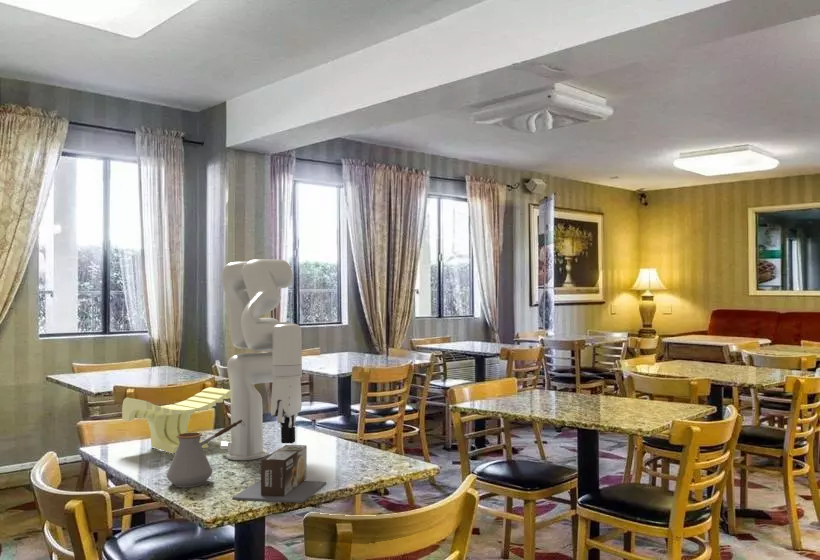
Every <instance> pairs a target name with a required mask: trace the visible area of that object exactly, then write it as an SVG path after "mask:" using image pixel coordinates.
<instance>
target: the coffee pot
mask: <svg viewBox="0 0 820 560" xmlns="http://www.w3.org/2000/svg"><path fill="white" fill-rule="evenodd" d="M241 422H243V421H242V420H239V421H237V422H236V423H235V422H234V423H233V424H232V425H231V424H230V425H227V426H225V427H223V428H222V429H221V430H219V431H218V432H216V433H214V434H213V435H211V436H210V437H208V438H206V439H204V440H201V437H202V435H203V433H201V432H188V433H183V434H179V435H177V438H178V440H179V446H178V448H177V450H176V453H175V454H173V458H172V460H171V463H170V465H169V468H168V470H167V473H166V478H167V479H168V481H169V482H170V483H171V484H173V486H174V487H177V488H192V487H193V488H194V487H198V486H202V485H204V484H205V483H206V481H208V480H209V479H210V477H211V476H212V474H213V468H212V466H211V465H210V462H209V460H208V457H207V455H206V454H205V451H204V448H202V445H204V444H206V443H210V442H211V441H212V440H213V439H215V438H217V437H219V436H222V435H223V434H225V433H227V432H230V431H231V429H232V428H233V427H236V426H237V424H240V423H241ZM243 423H244V422H243ZM241 425H242V423H241ZM242 426H243V425H242ZM244 426H245V423H244ZM200 440H201V441H202V442H199V441H200Z"/></svg>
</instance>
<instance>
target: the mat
mask: <svg viewBox="0 0 820 560" xmlns="http://www.w3.org/2000/svg"><path fill="white" fill-rule="evenodd" d="M325 485H327V481H321V480H320V481H318V480H313V481H312V480H304V481H303V482H302V483H300V484H299V485H298V486H297V487H295V488H294V489H293V490H291V491H290V492H289V493H288V494H286V495H285V496H262V495H261V479H260V480H258V481H257V482H255V483H253V484H251V485H250V486H247V488H245V489H244V490H242V491H240V492H238V493H237V494H235V495H234V496H232V498H231V499H232V500H237V501H238V500H239V501H260V502H279V503H281V502H282V503H298V504H299V503H301V504H303V503H304V502H305V501H307V500H308V499H309V498H310V497H312V496H313V495H314V494H315V493H316V491H317V492H318V491H319V490H321V489H322V488H323V487H324V486H325Z"/></svg>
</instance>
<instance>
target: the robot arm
mask: <svg viewBox="0 0 820 560" xmlns="http://www.w3.org/2000/svg"><path fill="white" fill-rule="evenodd" d="M221 275H222V276H221V279H222V280H221V282H222V287H223V290H224V293H225V297H226V298H227V301H228V302H227V303H228V307H229V326H230V341H231V343H232V345H233V347H234V348H236V349H240V350H241V349H242V350H243V349H244V350H245V349H247V350H251V351H253V352H246V353H238V354H235V355H232V356H231V357H230V358H229V359H228V361H227V367H226V368H227V376H228V382H229V390H230V425H232V424H233V423H234V422H235V423H236V422H237V421H239V420H242V421H243V422H244V423H245V426H244V423H243V422H241V423H242V425H243V426H242V425H241V423H240V424H237V426H236V427H233V428H232V429H230V441H221V442H220V443H219V448H220V449H221V450H227V452H226V455H225V458H226V459H228V460H232V461H250V460H258V459H263V458H265V457H266V456H268V455H269V451H268V449H266V448H264V447H263V446H264V439H263V438H264V437H263V436H264V434H263V432H264V431H263V425H264V424H263V397H262V394H261V393H260V392H259V391H258V390H257V388H255V385H257V384H266V383H272V386H271V396H270V397H271V400H270V401H271V402H270V415H271V417H272V418H276V417H277V424H278V423H279V426H280V442H281V443H282V444H290V445H293V444H294V443H295V442H296V423H297V422H296V418H297V417H298V414H299V413H300V412H301V410H302V408H303V407H302V403H303V402H302V401H303V400H302V384H301V378H302V377H303V361H302V360H303V358H302V353H303V352H302V349H303V348H302V347H303V345H302V344H303V342H302V328H301V327H302V326H300V325H299V324H297V323H292V322H287V321H284V322H281V321H279V319H276V318H274V317H261V316H263V315H265V314H267V313H269V312H271V311H273V310H275V309H276V308H277V307H278V306H279V304H280V303H281V298H282V297H281V293H280V291H279V289H286V288H288V287H290V285H291V284H292V281H293V269H292V267H291V265H290V264H289V262H288V261H286V260H284V259H268V258H267V259H263V258H262V259H260V258H259V259H251V260H249V261H233V262H229V263H227V264H225V266H223V269H222V272H221Z"/></svg>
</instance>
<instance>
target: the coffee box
mask: <svg viewBox="0 0 820 560" xmlns="http://www.w3.org/2000/svg"><path fill="white" fill-rule="evenodd" d="M307 449H308V448H307V445H305V444H285V445H284V446H281V447H280V448H279V449H277V450H275V451H274V452H272V453H270V454H268V455H267V456H265V457H262V458H260V480H261V495H262V496H285V495H286V494H288V493H289V492H290V491H291V490H293V489H294V488H295V487H297V486H298V485H299V484H300V483H302V482H303V481H306V480H307V478H308V477H307V468H308V467H307V464H308V463H307V461H308V459H307V457H308V455H307V454H308V452H307Z"/></svg>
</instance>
